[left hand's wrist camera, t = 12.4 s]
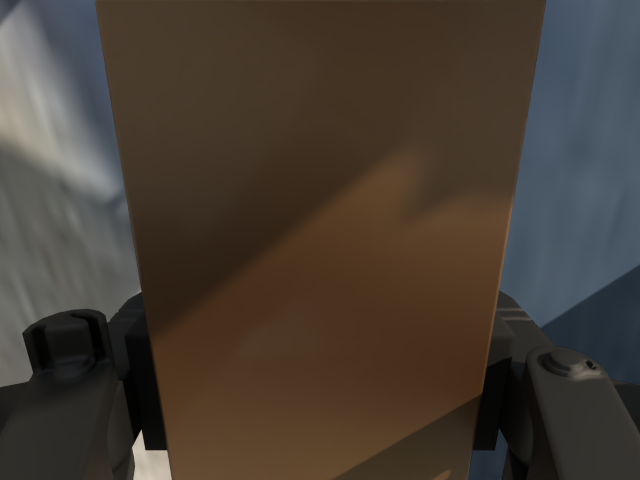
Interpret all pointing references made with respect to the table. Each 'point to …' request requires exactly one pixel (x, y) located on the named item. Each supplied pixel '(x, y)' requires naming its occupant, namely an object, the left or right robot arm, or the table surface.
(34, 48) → the table surface
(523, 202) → the table surface
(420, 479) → the post
